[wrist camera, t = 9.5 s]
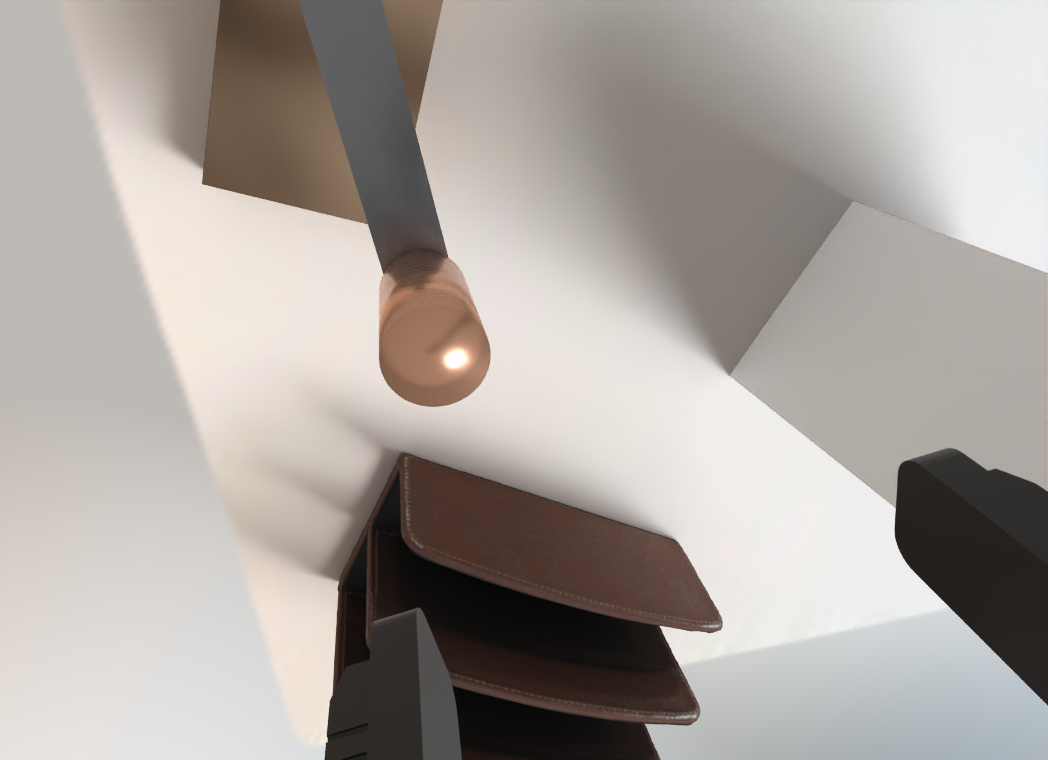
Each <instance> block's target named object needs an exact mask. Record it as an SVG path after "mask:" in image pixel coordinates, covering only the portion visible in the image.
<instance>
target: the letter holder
mask: <svg viewBox="0 0 1048 760" xmlns="http://www.w3.org/2000/svg"><path fill="white" fill-rule="evenodd" d="M338 592H339V594H338V609H337V626H336V642H335V658H334V680H333V693H334V691H335V689H336V687H337V685H338V683H339V681H340V679H341V677H342V675H343V672H344V670H345V668H346V667H347V666H351V665H354V664H357V663H360V662H364V661H367V660H370V642H371V626H372V623H373V622H374V621H377V620H380V619H383V618H386V617H390V616H393V615H396V614H399V613H403V612H406V611H409V610H413V609H416V608H420V609H421V610H422V612H423V613H424V616H425V618H426V620H427V623H428V625H429V627H430V630H431V632H432V634H433V637H434V639H435V642H436V644H437V646H438V649H439V651H440V654H441V656H442V658H443V661H444V663H445V665H446V668H447V670H448V673H449V676H450V680H451V683H452V687H453V692H454V696H455V702H456V708H457V717H458V727H459V737H460V746H461V756H462V760H660V758H659V755H658V753H657V751H656V749H655V747H654V744H653V742H652V741H651V737H650V735H649V733H648V730H647V728H646V726H645V724H670V725H691V724H692V723H694V722H695V721H697V719H698V718H699V715H700V708H699V705H698V702H697V700H696V698H695V696H694V694H693V692H692V690H691V688H690V686H689V684H688V682H687V680H686V678H685V676H684V674H683V672H682V670H681V668H680V666H679V665H678V662H677V661H676V659H675V657H674V655H673V653H672V651H671V648H670V647H669V645H668V643H667V641H666V639H665V637H664V635H663V633H662V630H661V628H660V626H665V627H671V628H677V629H682V630H687V631H701V632H707V633H713V632H716V631H719V630H721V629H722V623H723V622H722V618H721V615H720V614H719V611H718V610H717V608H716V607H715V605H714V603H713V601H712V600H711V598H710V596H709V594H708V592H707V591H706V589H705V587H704V586H703V584H702V582H701V580H700V579H699V577H698V575H697V573H696V571H695V569H694V567H693V566H692V564H691V562H690V561H689V559H688V557H687V555H686V554H685V552H684V551H683V549H682V547H681V546H680V545H679V543H678V542H677V541H675V540H671V539H668V538H666V537H661V536H660V535H655V534H652V533H650V532H646V531H643V530H642V529H637V528H634V527H631V526H628V525H624V524H621V523H619V522H615V521H612V520H610V519H609V520H608V519H606V518H603V517H600V516H597V515H594V514H590V513H588V512H584V511H581V510H579V509H575V508H572V507H569V506H567V505H563V504H561V503H557V502H554V501H551V500H548V499H545V498H541V497H538V496H535V495H532V494H530V493H526V492H522V491H519V490H517V489H515V488H509V487H507V486H504V485H501V484H499V483H495V482H491V481H488V480H484V479H482V478H479V477H475V476H473V475H470V474H466V473H463V472H459V471H457V470H453V469H451V468H447V467H444V466H441V465H437V464H435V463H431V462H428V461H425V460H422V459H419V458H416V457H413V456H409V455H405V454H400V457H399V459H398V461H397V463H396V465H395V467H394V469H393V471H392V473H391V475H390V477H389V479H388V482H387V484H386V486H385V488H384V490H383V492H382V494H381V496H380V498H379V500H378V502H377V504H376V506H375V508H374V510H373V512H372V514H371V516H370V518H369V520H368V522H367V524H366V526H365V528H364V530H363V532H362V534H361V536H360V538H359V540H358V542H357V544H356V546H355V548H354V550H353V552H352V555H351V557H350V559H349V561H348V563H347V565H346V567H345V569H344V571H343V573H342V576H341V578H340V581H339V585H338Z"/></svg>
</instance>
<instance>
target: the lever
mask: <svg viewBox="0 0 1048 760" xmlns="http://www.w3.org/2000/svg"><path fill="white" fill-rule="evenodd" d="M299 3H300V7H301V10H302V13H303V16H304V19H305V23H306V26H307V29H308V32H309V36H310V39H311V42H312V45H313V48H314V52H315V55H316V58H317V61H318V65H319V68H320V71H321V74H322V77H323V81H324V84H325V87H326V90H327V94H328V97H329V100H330V103H331V106H332V110H333V113H334V116H335V119H336V123H337V126H338V129H339V132H340V135H341V139H342V142H343V145H344V148H345V151H346V155H347V158H348V161H349V164H350V168H351V171H352V174H353V177H354V180H355V184H356V187H357V190H358V193H359V197H360V200H361V203H362V206H363V209H364V213H365V216H366V219H367V222H368V226H369V229H370V232H371V235H372V238H373V242H374V245H375V248H376V251H377V255H378V258H379V261H380V264H381V267H382V271H383V276H382V279H381V282H380V289H379V362H380V368H381V372H382V374H383V377H384V379H385V380H386V382H387V384H388V385H389V386H390V388H391V389H392V390H393V391H394V392H395V393H396V394H398V395H399V396H400V397H402V398H403V399H405V400H407V401H409V402H412V403H414V404H418V405H421V406H430V407H437V406H445V405H449V404H452V403H455V402H458V401H460V400H462V399H464V398H465V397H467V396H468V395H470V394H471V393H472V392H473V391H474V390H475V389H476V388H477V387H478V386H479V385H480V384H481V382H482V381H483V379H484V377H485V376H486V373H487V371H488V368H489V364H490V346H489V342H488V339H487V336H486V333H485V330H484V328H483V325H482V323H481V320H480V317H479V315H478V312H477V309H476V307H475V304H474V302H473V299H472V296H471V294H470V291H469V288H468V286H467V283H466V281H465V278H464V276H463V274H462V272H461V270H460V269H459V267H458V266H457V265H456V264H455V263H454V262H453V261H452V260H451V259H450V258H448V255H447V251H446V247H445V243H444V239H443V235H442V232H441V228H440V224H439V220H438V216H437V212H436V208H435V205H434V201H433V197H432V193H431V189H430V185H429V181H428V178H427V174H426V170H425V166H424V162H423V158H422V155H421V151H420V147H419V143H418V139H417V135H416V131H415V128H414V124H413V120H412V116H411V112H410V108H409V104H408V101H407V97H406V93H405V89H404V85H403V81H402V78H401V74H400V70H399V66H398V62H397V58H396V54H395V51H394V47H393V43H392V39H391V35H390V31H389V27H388V24H387V20H386V16H385V12H384V8H383V4H382V1H381V0H299Z"/></svg>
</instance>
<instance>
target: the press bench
mask: <svg viewBox="0 0 1048 760" xmlns="http://www.w3.org/2000/svg"><path fill="white" fill-rule="evenodd" d="M381 1H382V4H383V8H384V12H385V16H386V20H387V24H388V27H389V31H390V35H391V39H392V43H393V47H394V51H395V54H396V58H397V62H398V66H399V70H400V74H401V78H402V81H403V85H404V89H405V93H406V97H407V101H408V104H409V108H410V112H411V116H412V120H413V124H414V128H416V123H417V118H418V114H419V109H420V104H421V100H422V95H423V90H424V86H425V81H426V76H427V72H428V67H429V62H430V57H431V53H432V48H433V43H434V39H435V34H436V29H437V25H438V20H439V15H440V11H441V6H442V1H443V0H381ZM202 184H204V185H208V186H212V187H216V188H220V189H224V190H229V191H233V192H237V193H241V194H245V195H249V196H253V197H258V198H262V199H266V200H270V201H274V202H278V203H282V204H287V205H291V206H295V207H299V208H303V209H307V210H311V211H315V212H320V213H324V214H328V215H332V216H336V217H340V218H344V219H349V220H353V221H357V222H361V223H365V224H368V222H367V219H366V216H365V213H364V209H363V206H362V203H361V200H360V197H359V193H358V190H357V187H356V184H355V180H354V177H353V174H352V171H351V168H350V164H349V161H348V158H347V155H346V151H345V148H344V145H343V142H342V139H341V135H340V132H339V129H338V126H337V123H336V119H335V116H334V113H333V110H332V106H331V103H330V100H329V97H328V94H327V90H326V87H325V84H324V81H323V77H322V74H321V71H320V68H319V65H318V61H317V58H316V55H315V52H314V48H313V45H312V42H311V39H310V36H309V32H308V29H307V26H306V23H305V19H304V16H303V13H302V10H301V7H300V3H299V0H221V3H220V13H219V23H218V33H217V42H216V52H215V62H214V72H213V82H212V92H211V101H210V111H209V121H208V131H207V141H206V151H205V160H204V170H203V180H202Z"/></svg>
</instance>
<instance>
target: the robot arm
mask: <svg viewBox="0 0 1048 760" xmlns="http://www.w3.org/2000/svg"><path fill="white" fill-rule="evenodd" d="M895 538H896V542H897V545H898V548H899V550H900V552H901V554H902V556H903V558H904V560H905V561H906V563H907V564H908V565H909V567H910V568H911V569H912V570H913V571H914V572H915V573H916V574H917V575H918V576H919V577H920V578H921V579H922V580H923V581H924V582H925V583H926V584H927V585H928V586H929V587H930V588H931V589H932V590H933V591H934V592H935V593H936V594H937V595H938V596H939V597H940V598H941V599H942V600H943V601H944V602H945V603H946V604H947V605H948V606H949V607H950V608H951V609H952V610H953V611H954V612H955V613H956V614H957V615H958V616H959V617H960V618H961V619H962V620H963V621H964V622H965V623H966V624H967V625H968V626H969V627H970V628H971V629H972V630H973V631H974V632H975V633H976V634H977V635H978V636H979V637H980V638H981V639H982V640H983V641H984V642H985V643H986V644H987V645H988V646H989V647H990V648H991V649H992V650H993V651H994V652H995V653H996V654H997V655H998V656H999V657H1000V658H1001V659H1002V660H1003V661H1004V662H1005V663H1006V664H1007V665H1008V666H1009V667H1010V668H1011V669H1012V670H1013V671H1014V672H1015V673H1016V674H1017V675H1018V676H1019V677H1020V678H1021V679H1022V680H1023V681H1024V682H1025V683H1026V684H1027V685H1028V686H1029V687H1030V688H1031V689H1032V690H1033V691H1034V692H1035V693H1036V694H1037V695H1038V696H1039V697H1040V698H1041V699H1042V700H1043V701H1044V702H1045V703H1046V704H1047V705H1048V491H1046V490H1045V489H1043V488H1042V487H1040V486H1039V485H1037V484H1036V483H1033V482H1031V481H1028V480H1025V479H1023V478H1020V477H1017V476H1015V475H1012V474H1010V473H1007V472H1004V471H1002V470H999V469H992V470H989V471H988V470H986V469H985V468H984V467H982V466H981V465H979V464H978V463H976V462H975V461H974V460H972V459H971V458H969V457H968V456H967V455H965V454H964V453H962V452H961V451H959V450H956V449H953V448H946V449H942V450H939V451H936V452H933V453H929V454H926V455H923V456H919V457H916V458H913V459H910V460H906V461H904V462H902V463H901V465H900V466H899V469H898V478H897V497H896V515H895ZM327 738H328V742H327V743H326V751H325V760H462V756H461V746H460V737H459V727H458V717H457V708H456V702H455V696H454V692H453V687H452V683H451V680H450V676H449V673H448V670H447V668H446V665H445V663H444V661H443V658H442V656H441V654H440V651H439V649H438V646H437V644H436V642H435V639H434V637H433V634H432V632H431V630H430V627H429V625H428V623H427V620H426V618H425V616H424V613H423V612H422V610H421V609H420V608H416V609H413V610H409V611H406V612H403V613H399V614H396V615H393V616H390V617H386V618H383V619H380V620H377V621H374V622H373V623H372V626H371V642H370V660H367V661H364V662H360V663H357V664H354V665H351V666H347V667H346V668H345V670H344V672H343V675H342V677H341V679H340V681H339V683H338V685H337V687H336V689H335V691H334V693H333V696H332V698H331V700H330V706H329V717H328V728H327Z"/></svg>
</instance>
